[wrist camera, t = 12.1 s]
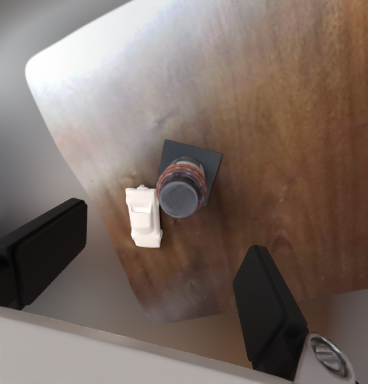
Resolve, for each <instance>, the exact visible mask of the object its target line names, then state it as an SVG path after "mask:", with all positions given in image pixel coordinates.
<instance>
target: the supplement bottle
mask: <svg viewBox="0 0 368 384" xmlns="http://www.w3.org/2000/svg"><path fill="white" fill-rule="evenodd" d="M205 174H206V173H205V171H204V168H203V166H202V165H201V163H200V162H199V161H198V160H197V159H195V158H193V157H189V156H182V157H179V158H177V159H175V160H174V161H173V162H172V163H171V164H170V165H169V166H168V167H167V168H166V170H165V171H164V172H163V173H162V174H161V176H160V177H159V179H158V182H157V186H156V193H157V197H158V200H159V202H160V205H161V208H162V209H163V211H164V212H166V213H167V214H168V215H170V216H172V217H175V218H184V217H187V216H189V215H191V214H192V213H193V212H194V211H196V210H198V209H199V208H200V207H201V206H202V204H203V203H204V201H205V199H206V195H207V185H206V178H205Z"/></svg>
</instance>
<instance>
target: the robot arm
mask: <svg viewBox="0 0 368 384" xmlns="http://www.w3.org/2000/svg"><path fill="white" fill-rule="evenodd" d="M86 232H87V204H85V202H84V201H83V200H80V199H76V198H71V199H69V200H67V201H65V202H64V203H62V204H60V205H58V206H57V207H55V208H53V209H51V210H49V211H48V212H46V213H44V214H42V215H41V216H39V217H37V218H36V219H34V220H32V221H30V222H28V223H26V224H25V225H23V226H21V227H20V228H18V229H16V230H14V231H12V232H11V233H9V234H7V235H5V236H4V237H2V238H0V384H359V383H358V382H357V381H356V380H355V374H354V370H353V368H352V365H351V363H350V361H349V360H348V359H347V357H346V356H345V354H344V353H343V352H342V351H341V350H340V348H338V346H337V345H336V344H334V343H333V342H332V341H331V340H330V339H328V338H327V337H325V336H323V335H322V334H320V333H317V332H309V330H308V328H307V326H306V325H308V324H307V322H306V320H305V318H304V316H303V315H302V313H301V311H300V309H299V307H298V305H297V303H296V301H295V300H294V298H293V296H292V294H291V292H290V290H289V289H288V287H287V285H286V283H285V281H284V279H283V277H282V276H281V274H280V272H279V270H278V268H277V266H276V265H275V263H274V261H273V259H272V257H271V255H270V254H269V252H268V250H267V248H266V247H263V246H259V245H253V246H250V248H249V250H248V252H247V254H246V256H245V258H244V260H243V262H242V264H241V266H240V268H239V270H238V272H237V275H236V277H235V279H234V281H233V289H234V294H235V299H236V303H237V308H238V313H239V318H240V323H241V327H242V332H243V337H244V342H245V347H246V352H247V357H248V359H249V361H250V362H252V366H253V370H252V369H248V368H245V367H241V366H238V365H234V364H230V363H226V362H222V361H219V360H215V359H211V358H207V357H203V356H199V355H196V354H192V353H187V352H184V351H180V350H176V349H172V348H168V347H164V346H160V345H156V344H152V343H148V342H145V341H141V340H137V339H132V338H129V337H125V336H121V335H116V334H113V333H109V332H105V331H101V330H97V329H93V328H89V327H85V326H81V325H76V324H72V323H69V322H64V321H60V320H56V319H52V318H48V317H44V316H40V315H36V314H32V313H28V312H24V311H21V310H22V309H23V308H24V307H25V306H26V305H30V304H31V303H32V302H33V301H34V300H35V299H36V298H37V297H38V296H39V295H40V294H41V293H42V292H43V291H44V290H45V289H46V288H47V286H49V285H50V284H51V282H52V281H53V280H54V279H55V278H56V277H57V276H58V275H59V274H60V273H61V272H62V271H63V270H64V269H65V268H66V267H67V265H68V264H69V263H70V262H71V261H72V260H73V259H74V258H75V257H76V256H77V255H78V254H79V253H80V252H81V251H82V250H83V249H84V247H85V245H86V235H87V233H86Z"/></svg>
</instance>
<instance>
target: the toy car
mask: <svg viewBox="0 0 368 384" xmlns="http://www.w3.org/2000/svg"><path fill="white" fill-rule="evenodd" d="M142 186H143V187H142ZM142 186H141V185H140V187H137V189H134V188H127V189H126V196H127V197H126V203H127V204H128V208H129V215H130V221H131V227H132V232H131V236H132V238H133V239H134V241H135V243H136V245H137V246H142V247H160V241H161V240H160V239H161V238H162V234H163V231H162V229H160V219H159V204H160V202H159V200H158V197H157V193H156V189H149V188H147V187H144V185H142Z"/></svg>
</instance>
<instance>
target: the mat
mask: <svg viewBox="0 0 368 384" xmlns="http://www.w3.org/2000/svg"><path fill="white" fill-rule="evenodd" d="M182 156H189V157H193V158H195V159H197V160H198V161H199V162H200V163H201V165H202V166H203V168H204V171H205V173H206V174H205V178H206V185H207V195H206V199H205V201H204V203H203V204H202V205H203V206H206V204H207V201H208V198H209V195H210V191H211V188H212V185H213V182H214V179H215V176H216V173H217V169H218V166H219V163H220V160H221V157H222V154H220V153H216V152H213V151H209V150H205V149H201V148H197V147H193V146H189V145H185V144H182V143H178V142H174V141H170V140H166V139H165V142H164V147H163V152H162V158H161V163H160V168H159V173H158V178H157V182H158V179H159V177H160V176H161V174H162V173H163V172H164V171H165V170H166V168H167V167H168V166H169V165H170V164H171V163H172V162H173V161H174V160H175V159H177V158H179V157H182ZM156 186H157V183H156Z"/></svg>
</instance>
